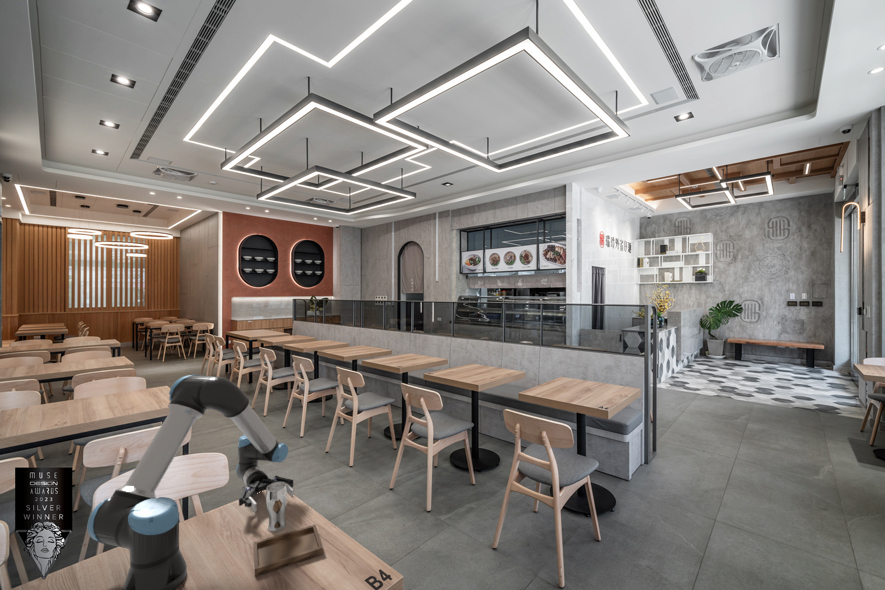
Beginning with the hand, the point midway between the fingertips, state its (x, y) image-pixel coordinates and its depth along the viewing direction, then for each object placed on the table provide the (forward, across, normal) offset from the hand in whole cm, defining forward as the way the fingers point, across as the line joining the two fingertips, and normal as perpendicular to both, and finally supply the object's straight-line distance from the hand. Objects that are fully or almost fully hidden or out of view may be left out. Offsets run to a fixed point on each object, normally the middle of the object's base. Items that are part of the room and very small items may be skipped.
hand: (274, 500), depth 143 cm
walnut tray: (+20, +3, -8) cm, 22 cm away
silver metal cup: (+4, +1, -8) cm, 9 cm away
